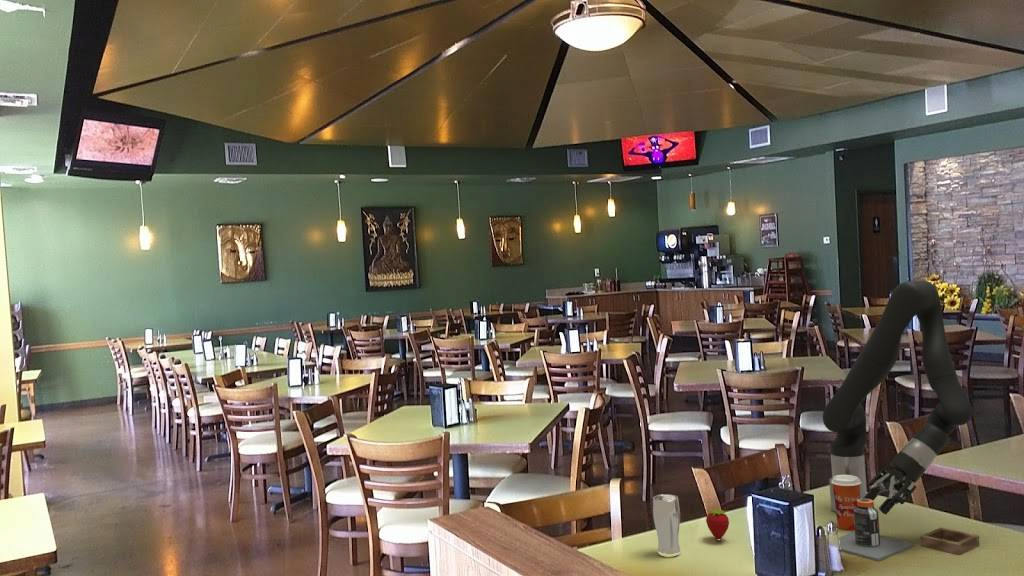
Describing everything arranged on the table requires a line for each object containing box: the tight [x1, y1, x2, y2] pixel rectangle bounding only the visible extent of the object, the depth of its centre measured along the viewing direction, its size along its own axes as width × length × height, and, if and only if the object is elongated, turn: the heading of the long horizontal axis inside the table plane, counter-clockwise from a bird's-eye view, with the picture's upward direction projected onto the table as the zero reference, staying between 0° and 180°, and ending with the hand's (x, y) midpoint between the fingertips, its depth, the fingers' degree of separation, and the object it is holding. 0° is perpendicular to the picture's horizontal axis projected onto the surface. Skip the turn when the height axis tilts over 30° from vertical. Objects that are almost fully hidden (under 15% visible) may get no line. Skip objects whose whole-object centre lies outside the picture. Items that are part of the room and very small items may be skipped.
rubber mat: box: [839, 530, 915, 562], centre depth 212 cm, size 16×16×1 cm
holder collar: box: [920, 527, 980, 556], centre depth 209 cm, size 10×10×2 cm
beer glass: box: [652, 493, 681, 554], centre depth 216 cm, size 7×7×15 cm
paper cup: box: [831, 475, 861, 531], centre depth 228 cm, size 8×8×14 cm
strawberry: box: [705, 503, 730, 540], centre depth 224 cm, size 6×8×10 cm
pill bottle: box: [854, 499, 881, 546], centre depth 213 cm, size 6×6×11 cm
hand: (873, 507), depth 213 cm, fingers open, 8 cm apart
